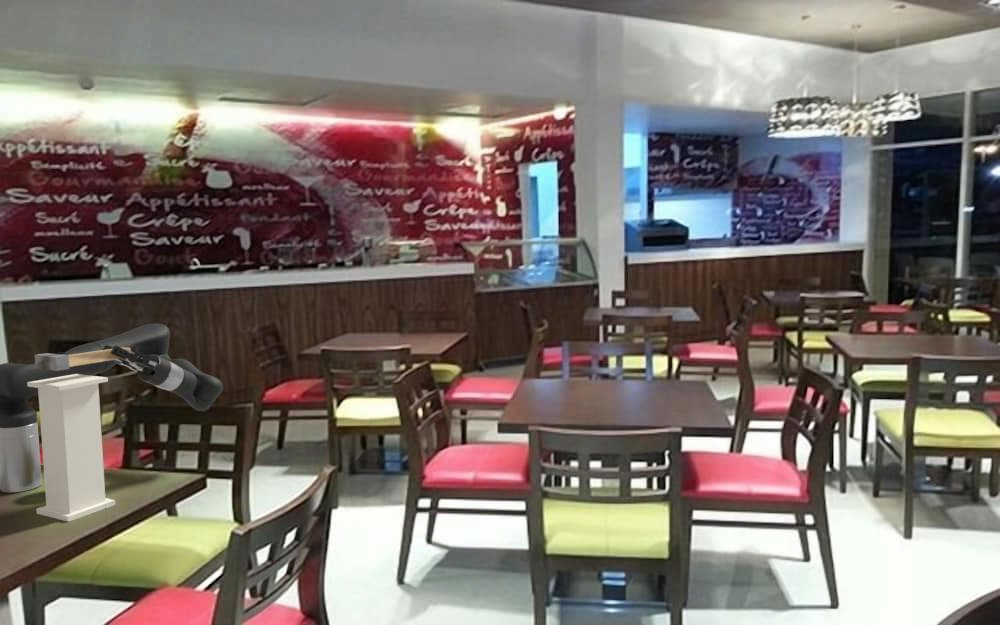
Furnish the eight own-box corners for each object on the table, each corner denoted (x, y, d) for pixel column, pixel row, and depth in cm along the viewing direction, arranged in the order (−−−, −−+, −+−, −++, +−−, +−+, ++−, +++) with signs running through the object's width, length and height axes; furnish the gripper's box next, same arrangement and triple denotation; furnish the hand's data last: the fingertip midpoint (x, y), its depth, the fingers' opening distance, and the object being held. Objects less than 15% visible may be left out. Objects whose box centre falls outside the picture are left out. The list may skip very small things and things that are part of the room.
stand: (36, 513, 174) (27, 382, 171) (84, 497, 185) (76, 373, 182) (68, 521, 169) (59, 386, 166) (115, 504, 180) (107, 377, 177)
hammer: (35, 368, 171) (34, 354, 171) (116, 355, 190) (116, 343, 189) (56, 370, 167) (55, 357, 167) (137, 357, 186) (136, 345, 186)
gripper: (149, 358, 202) (96, 333, 187) (184, 361, 195) (133, 336, 181) (138, 384, 199) (84, 360, 185) (174, 388, 193) (121, 364, 179)
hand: (108, 349), depth 183 cm, fingers closed on hammer, 3 cm apart
